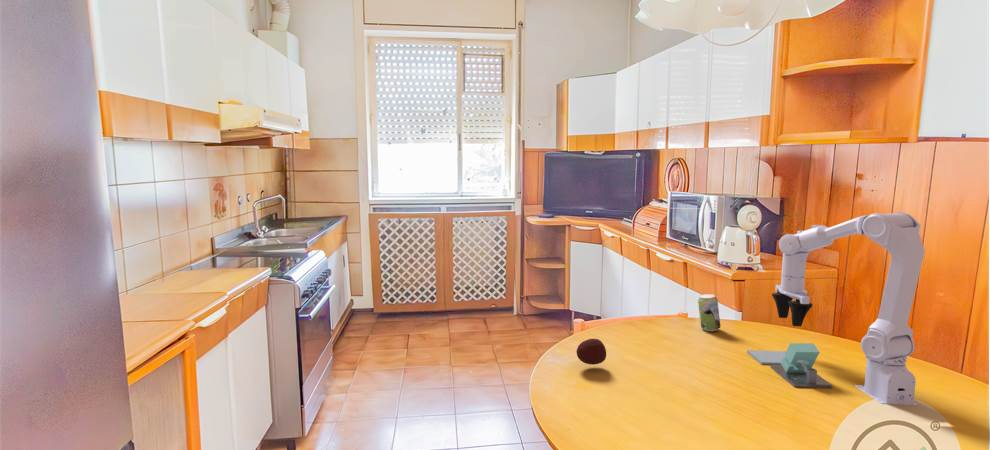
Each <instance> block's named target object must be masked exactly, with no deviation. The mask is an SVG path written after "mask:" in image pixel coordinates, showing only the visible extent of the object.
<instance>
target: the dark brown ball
mask: <svg viewBox="0 0 990 450" xmlns="http://www.w3.org/2000/svg"><path fill="white" fill-rule="evenodd" d="M576 355H577V358H578V360H579V361H580V362H582V363H584V364H586V365H598V364H601V363H603V362H604V361H605V360H606V359H607V349H606V346H605V344H604V343H603V341H602V340H600V339H597V338H588V339H586V340H583V341H581V342H580V343H579V344H578V345H577V348H576Z"/></svg>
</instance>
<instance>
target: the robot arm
mask: <svg viewBox="0 0 990 450" xmlns="http://www.w3.org/2000/svg"><path fill="white" fill-rule="evenodd" d="M920 230H921V224H920V223H919V221H917V220H916V219H915V217H913V216H912V215H911V214H909V213H906V212H901V211H900V212H896V213H879V212H877V213H871V214H869V215H861V216H858V217H855V218H852V219H850V220H847V221H845V222H844V221H843V222H841V223H839V224H836V225H833V226H830V227H828V226H827V225H820V224H814V225H813V224H812V225H811V228H809V229H806V230H802V229H801V230H797V231H796V233H795V234H791V233H786V234H785V235H782V236H781V237H780V239H779V240H778V248H779V250H780V251H781V253H782V262H781V263H782V264H781V277H780V284H775V290H774V291H775V292H774V293H773V292H772V293H771V296H772V298H773V301H774V303H775V307H776V310H777V315H778V318H779V319H787V318H788V316H789V313H791V324H792V327H802V325H803V322H804V321H805V318H806V315H807V313H808V312H809V311H810V310H811V308H813V304H812V303H811V302H810V299H811V298H810V296H808V293H809V292H808V291H807V290H805V281H806V280H805V279H806V265H807V259H808V258H809V257H808V256H809V253H810V252H812V251H815V250H819V249H823V248H825V247H829V246H831V245H833V243H834V241H835V240H837V239H840V238H845V237H850V236H853V235H856V234H859V235H862V236H863V235H865V236H866V237H867V238H868V239H870V240H871V241H873V242H874V243H876V244H877V245H879V246H880V247H881V248H884V249H885V250H886V251H887V253H889V255H891V258H890V263H889V267H888V271H887V276H886V280H885V285H884V289H883V294H882V298H881V304H880V306H879V307H880V308H879V311H878V316H877V318H876V320H875V321H874V322H873V323H871V325H869V326H868V330H867V332H866V334H865V335H864V336H862V338H861V340H860V347H861V348H860V349H861V351H862V352H863V354H864V355H865V358H866V365H865V375H864V385H859V384H857V385H856V384H855V388H857V389H858V390H860V391H862V392H863V393H865V394H866V395H867V396H869V397H871V398H872V399H873V400H875V401H877V402H878V403H880V404H881V405H900V406H901V405H902V406H918V403H917V402H915V391H916V382H917V381H916V377H915V375H914V374H913V373H912V372H911V371H910V370H909V369H908V368H907V364H906V363H907V359H908V357H909V356H911V355H912V354H913V352H914V351H915V342H914V338H913V335H914V330H913V329H912V328H911V327H910V326H909V325H908V322H909V319H910V315H911V311H912V306H913V303H914V302H913V301H914V298H915V295H916V294H915V293H916V290H917V285H918V281H919V278H920V273H921V270H922V266H923V261H924V258H925V247H924V245H923V242H922V238H921V235H920V234H921V233H920ZM793 299H794V300H793Z"/></svg>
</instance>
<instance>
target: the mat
mask: <svg viewBox="0 0 990 450" xmlns="http://www.w3.org/2000/svg"><path fill="white" fill-rule="evenodd" d="M786 351H787V350H785V351H783V350H757V349H755V350H753V349H752V350H750V349H748V350H746V353H747V354H748V355H750V356H751V357H752V358H754V360H756V361H757V362H758V363H759V364H760V365H767V366H768V365H770V366H771V365H781V362H782V360H783V358H786V356H785V353H786Z"/></svg>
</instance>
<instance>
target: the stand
mask: <svg viewBox="0 0 990 450" xmlns="http://www.w3.org/2000/svg"><path fill="white" fill-rule="evenodd" d="M795 364H796V365H797V366H799V367H800V368H801V369H803V370H804V371H805V372H807V373H786V371H785V369H784V368H783V366H782V365H770V368H771V370H773V372H775V373H777V374H778V375H779V376H780V377H781V378H782V379H784V380H785V381H786V382H788V383H789V384H790V385H791V386H792V387H794V388H811V389H813V388H815V389H833V384H831V383H830V382H829V381H828V380H826V379H824V378H823V377H822V376H820V375H819V374H818V369H815V368H813V367H812V368H811V367H810V366H808V365H807V364H806V363H804V362H803V361H801V360H797V361H796V363H795Z"/></svg>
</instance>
